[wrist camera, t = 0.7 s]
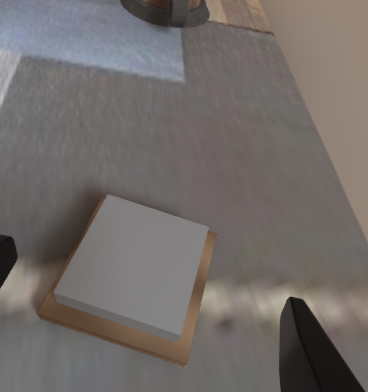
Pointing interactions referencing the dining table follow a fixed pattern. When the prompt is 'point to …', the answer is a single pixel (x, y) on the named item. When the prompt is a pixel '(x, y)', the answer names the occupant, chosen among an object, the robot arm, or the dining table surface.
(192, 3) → the tankard
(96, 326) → the tower base
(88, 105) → the dining table surface
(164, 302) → the tower top
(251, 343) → the dining table surface
